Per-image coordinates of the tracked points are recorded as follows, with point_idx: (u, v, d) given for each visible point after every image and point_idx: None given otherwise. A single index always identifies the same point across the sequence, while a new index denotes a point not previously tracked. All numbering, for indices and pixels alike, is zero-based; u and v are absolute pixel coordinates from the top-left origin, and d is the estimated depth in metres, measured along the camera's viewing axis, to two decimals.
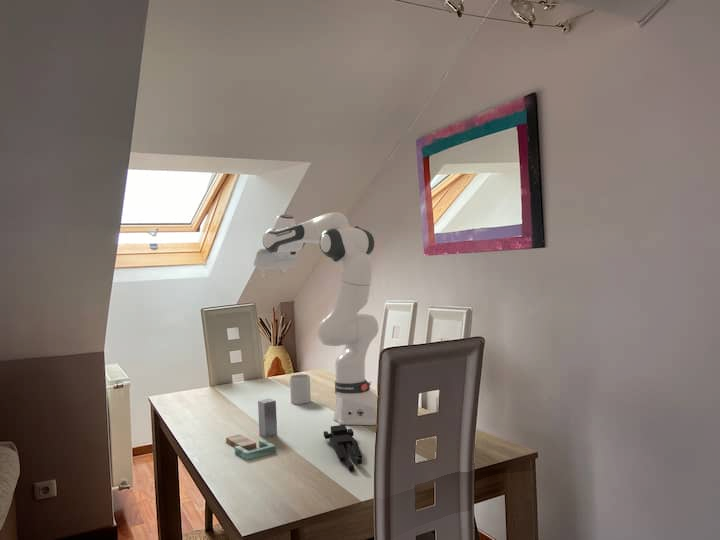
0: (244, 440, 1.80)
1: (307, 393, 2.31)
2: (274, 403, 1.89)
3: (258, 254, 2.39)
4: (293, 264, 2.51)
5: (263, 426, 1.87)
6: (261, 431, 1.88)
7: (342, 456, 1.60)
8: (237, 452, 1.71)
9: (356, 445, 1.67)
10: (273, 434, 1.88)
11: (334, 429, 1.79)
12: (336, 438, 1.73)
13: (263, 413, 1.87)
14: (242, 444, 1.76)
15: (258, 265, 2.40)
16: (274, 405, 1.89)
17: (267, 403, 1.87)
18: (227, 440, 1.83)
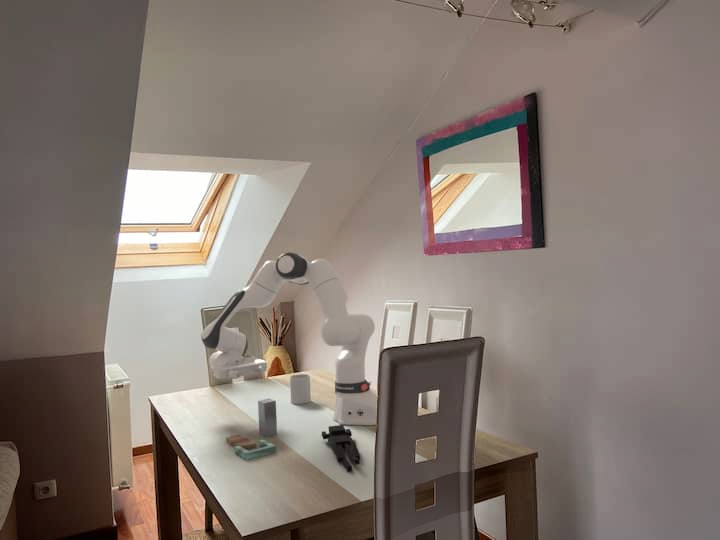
0: (244, 440, 1.80)
1: (307, 393, 2.31)
2: (274, 403, 1.89)
3: (211, 370, 2.02)
4: (262, 361, 2.10)
5: (263, 426, 1.87)
6: (261, 431, 1.88)
7: (340, 456, 1.60)
8: (237, 452, 1.71)
9: (354, 445, 1.67)
10: (273, 434, 1.88)
11: (332, 429, 1.78)
12: (334, 438, 1.73)
13: (263, 413, 1.87)
14: (242, 444, 1.76)
15: (217, 368, 1.99)
16: (274, 405, 1.89)
17: (267, 403, 1.87)
18: (227, 440, 1.83)
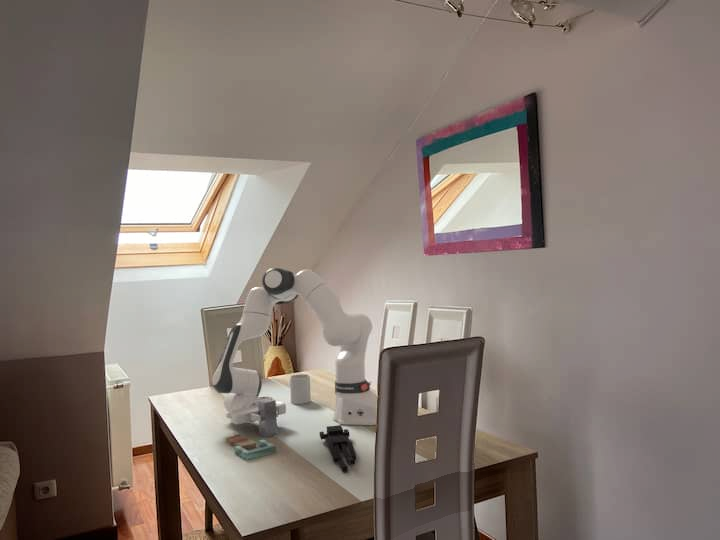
0: (244, 440, 1.80)
1: (307, 393, 2.31)
2: (274, 403, 1.89)
3: (228, 415, 1.92)
4: (280, 403, 1.99)
5: (263, 426, 1.87)
6: (261, 431, 1.88)
7: (336, 457, 1.60)
8: (237, 452, 1.71)
9: (351, 446, 1.67)
10: (273, 434, 1.88)
11: (330, 429, 1.78)
12: (331, 438, 1.73)
13: (263, 413, 1.87)
14: (242, 444, 1.76)
15: (235, 413, 1.88)
16: (274, 405, 1.89)
17: (267, 403, 1.87)
18: (227, 440, 1.83)
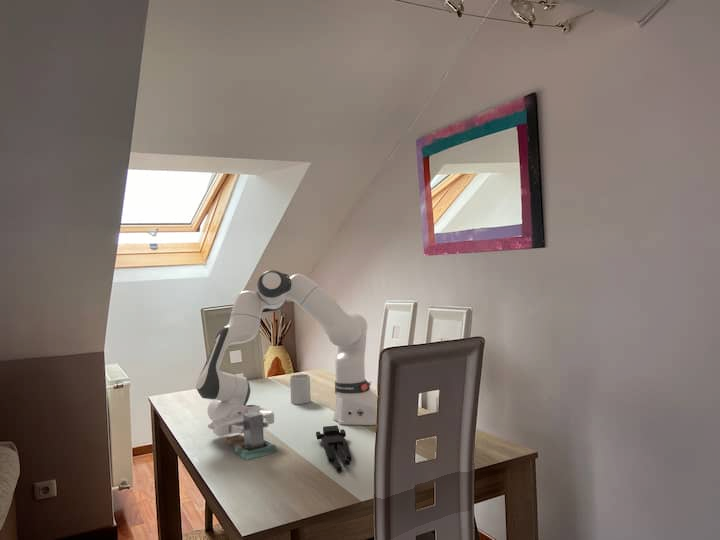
0: None
1: (307, 393, 2.31)
2: (261, 417, 1.72)
3: (210, 425, 1.75)
4: (268, 412, 1.82)
5: (248, 443, 1.71)
6: (247, 447, 1.72)
7: (331, 457, 1.60)
8: (237, 452, 1.71)
9: (346, 446, 1.67)
10: None
11: (326, 429, 1.78)
12: (327, 439, 1.73)
13: (248, 428, 1.71)
14: (242, 444, 1.76)
15: (217, 424, 1.71)
16: (261, 419, 1.72)
17: (253, 417, 1.71)
18: (227, 440, 1.83)
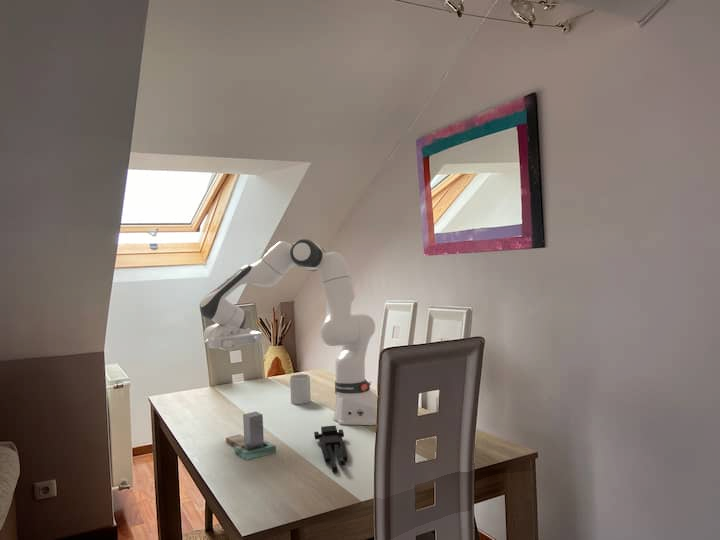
0: None
1: (307, 393, 2.31)
2: (261, 417, 1.72)
3: (206, 341, 1.97)
4: (257, 332, 2.04)
5: (248, 443, 1.71)
6: (247, 447, 1.72)
7: (327, 457, 1.60)
8: (237, 452, 1.71)
9: (343, 446, 1.67)
10: None
11: (324, 429, 1.79)
12: (325, 439, 1.73)
13: (248, 428, 1.71)
14: (242, 444, 1.76)
15: (212, 338, 1.93)
16: (260, 419, 1.72)
17: (253, 417, 1.71)
18: (227, 440, 1.83)
